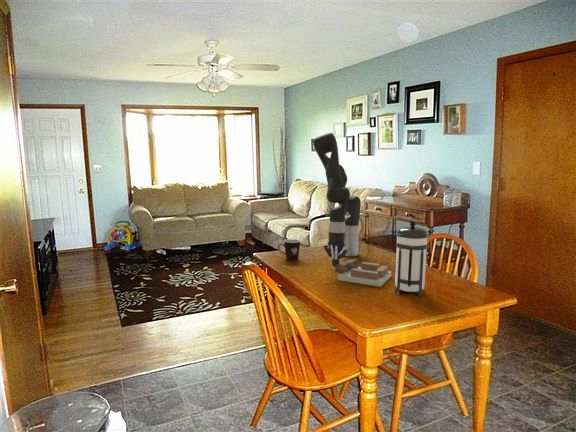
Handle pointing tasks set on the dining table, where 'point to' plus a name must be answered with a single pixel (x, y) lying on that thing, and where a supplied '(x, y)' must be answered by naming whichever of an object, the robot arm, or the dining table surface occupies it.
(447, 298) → the dining table surface
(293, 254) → the coffee mug
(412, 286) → the coffee press
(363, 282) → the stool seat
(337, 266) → the brown rectangular bar
